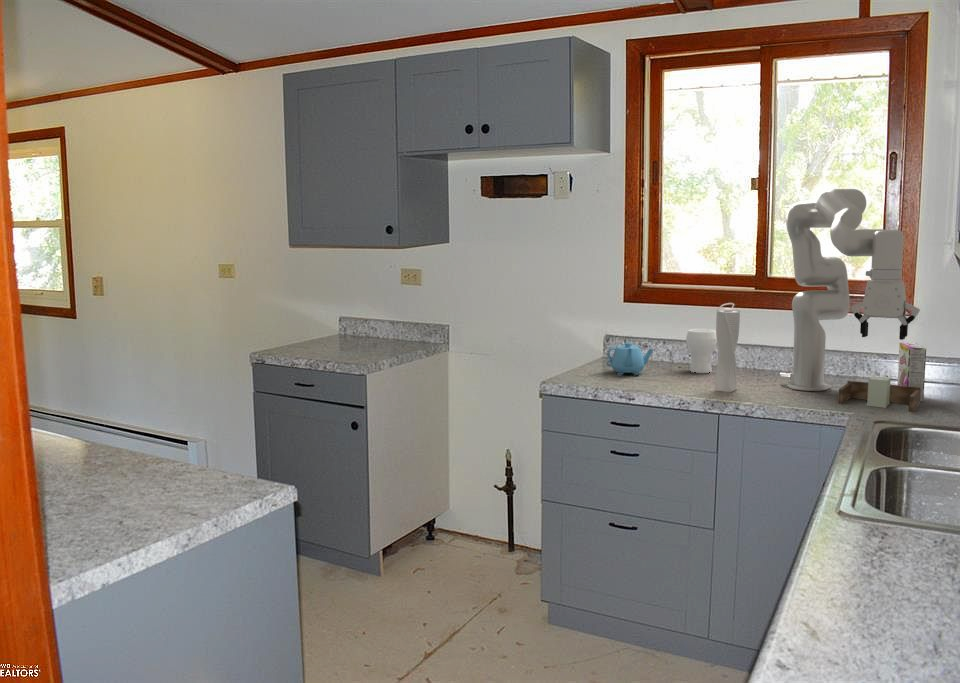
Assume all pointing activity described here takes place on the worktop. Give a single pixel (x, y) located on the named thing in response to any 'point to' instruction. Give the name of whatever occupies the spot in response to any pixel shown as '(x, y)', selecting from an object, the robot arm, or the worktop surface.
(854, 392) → the walnut u-shaped bracket
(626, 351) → the teapot
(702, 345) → the cup
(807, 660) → the worktop surface
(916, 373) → the candy bar box
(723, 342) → the skyscraper
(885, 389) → the sage block
